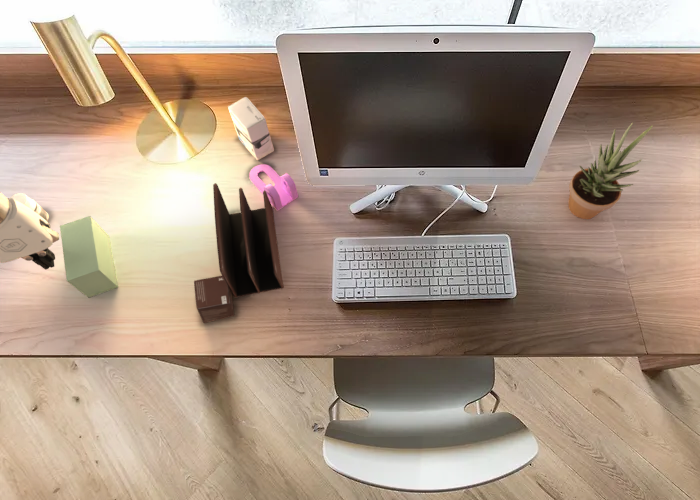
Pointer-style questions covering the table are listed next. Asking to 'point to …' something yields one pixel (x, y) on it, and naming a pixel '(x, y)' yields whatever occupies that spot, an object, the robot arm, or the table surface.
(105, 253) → the tissue box
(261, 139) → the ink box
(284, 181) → the bracket
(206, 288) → the box
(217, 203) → the letter holder
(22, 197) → the pill bottle
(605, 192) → the potted plant
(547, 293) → the table surface
